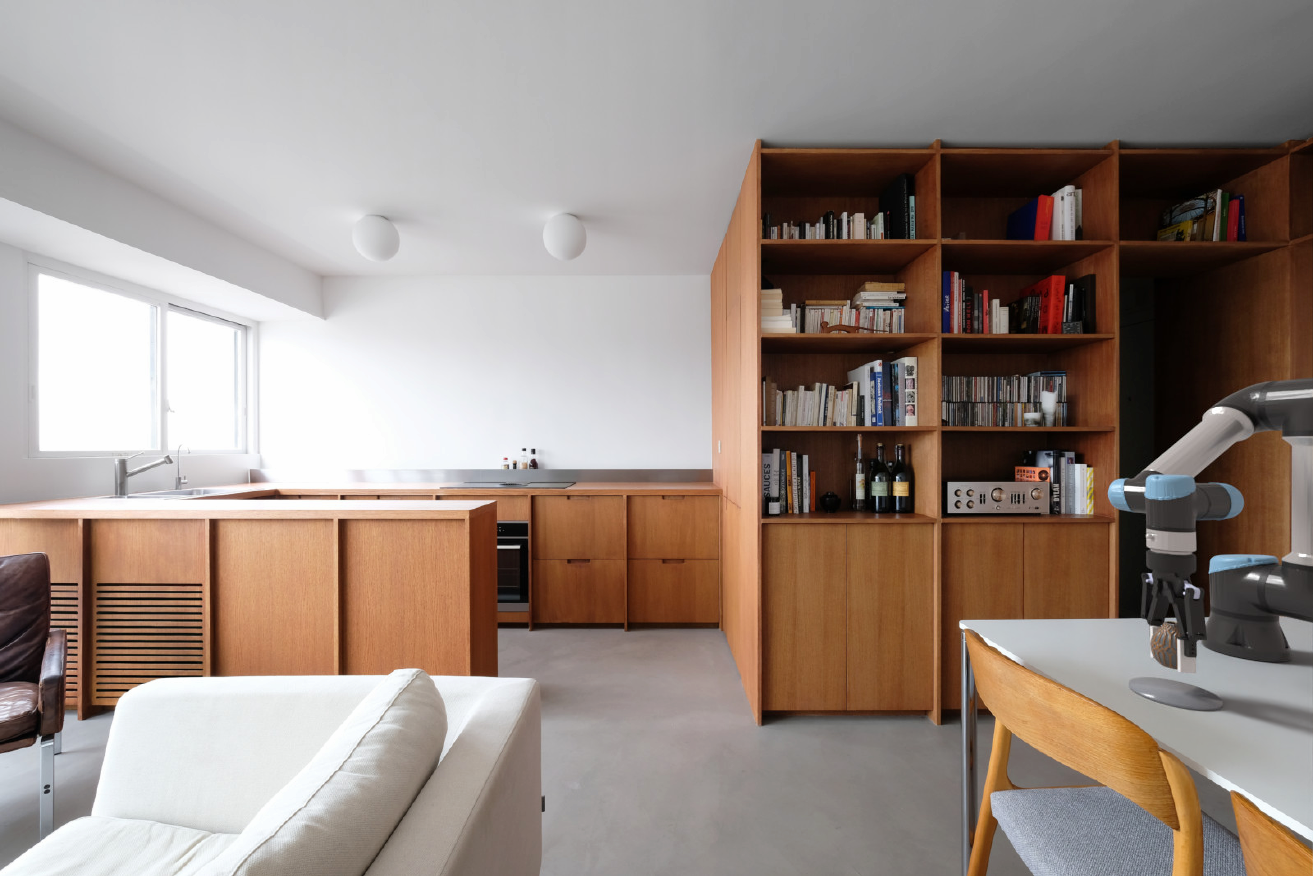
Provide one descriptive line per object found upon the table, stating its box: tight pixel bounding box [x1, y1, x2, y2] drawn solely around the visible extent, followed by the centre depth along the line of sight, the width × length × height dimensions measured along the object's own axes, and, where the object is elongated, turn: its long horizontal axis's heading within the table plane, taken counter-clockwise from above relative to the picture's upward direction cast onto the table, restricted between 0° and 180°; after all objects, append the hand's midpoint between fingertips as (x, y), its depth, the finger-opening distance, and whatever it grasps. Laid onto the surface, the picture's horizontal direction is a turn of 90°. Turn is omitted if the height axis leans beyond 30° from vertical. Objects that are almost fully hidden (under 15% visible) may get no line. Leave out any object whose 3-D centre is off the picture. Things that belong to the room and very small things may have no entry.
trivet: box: [1128, 676, 1223, 712], centre depth 115 cm, size 14×14×1 cm
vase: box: [1149, 620, 1181, 671], centre depth 115 cm, size 7×7×9 cm
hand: (1172, 664), depth 115 cm, fingers closed on vase, 7 cm apart
